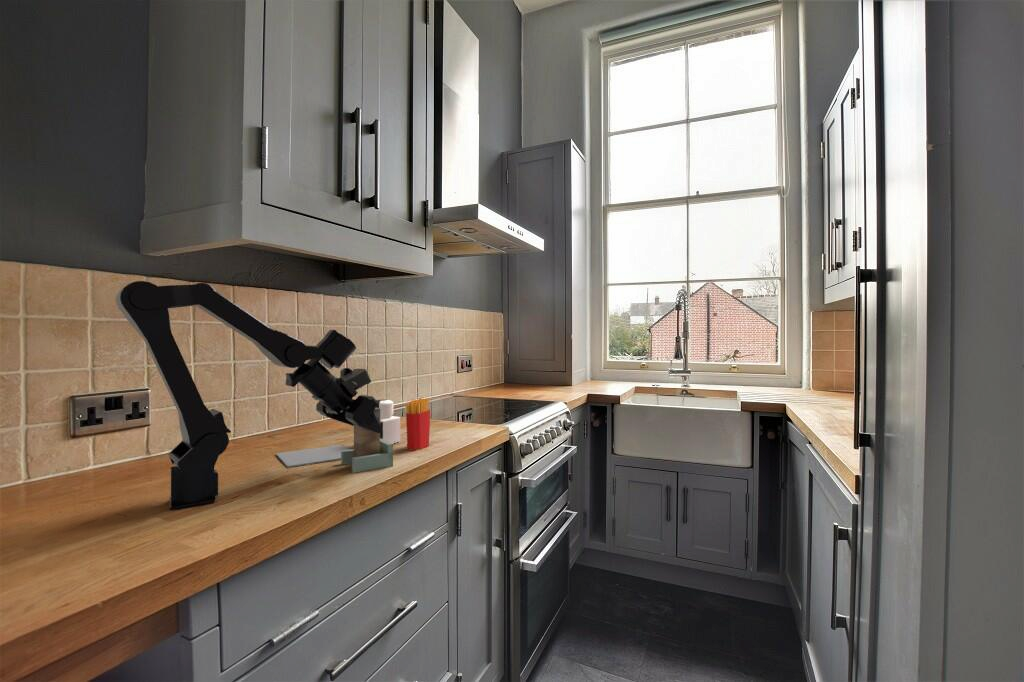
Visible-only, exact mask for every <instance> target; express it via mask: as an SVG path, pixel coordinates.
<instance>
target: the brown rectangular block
mask: <svg viewBox="0 0 1024 682" xmlns="http://www.w3.org/2000/svg"><path fill="white" fill-rule="evenodd" d="M374 414H375V416H376V418H377V420H378V422H379V424H380V409H379V408H375V409H374ZM353 449H354V457H361V456H367V455H374V454H380V433H376V432H373V431H371V430H368V429H365V428H362V427H359V426H356V425H354V426H353Z"/></svg>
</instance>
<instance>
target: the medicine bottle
mask: <svg viewBox="0 0 1024 682" xmlns="http://www.w3.org/2000/svg"><path fill="white" fill-rule="evenodd" d="M376 400H377V401H378V404H377V406H376V408H379V409H380V426H381V428H382V431H381V432H380V438H381V439H383V440H385V441H387V442H390V443H392V444H393V445H395V444H398V443H397V442H399V443H400V442H401V417H400V416H394V401H392V400H391V399H376ZM394 443H395V444H394Z"/></svg>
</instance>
